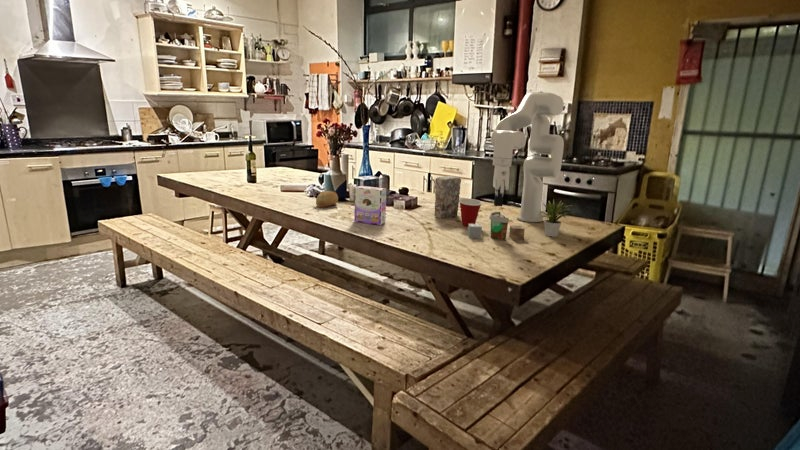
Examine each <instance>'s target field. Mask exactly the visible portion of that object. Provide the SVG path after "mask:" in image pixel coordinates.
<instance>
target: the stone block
mask: <svg viewBox="0 0 800 450" xmlns="http://www.w3.org/2000/svg"><path fill="white" fill-rule="evenodd" d="M434 180H435V181H434V182H435V183H434V188H435V189H434V191H435V192H434V194H435V195H434V197H435V200H434V217H436V218H439V219H442V220H443V219H448V218H452V217H457V216H458V212H459V206H460V202H459V200H460V193H461V183H462V179H461V178H460V177H458V176H454V175H448V176H447V175H446V176H438V177H436V178H435V179H434Z"/></svg>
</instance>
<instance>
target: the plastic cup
mask: <svg viewBox="0 0 800 450" xmlns="http://www.w3.org/2000/svg"><path fill="white" fill-rule="evenodd" d="M482 205H483V202H482V201H481V200H479V199H475V198H469V197H468V198H459V206H460V218H461V224H462V226H463V227H464V228H468V224H477V219H478V215H479V211H480V208H481V206H482Z"/></svg>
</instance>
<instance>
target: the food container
mask: <svg viewBox="0 0 800 450" xmlns="http://www.w3.org/2000/svg"><path fill="white" fill-rule="evenodd" d="M489 220H490V238H491V239H493V240H497V241H506V239H507V234H508V233H507V232H508V226H509V223H510V222H509V221H510V219H509V217H505V215H502V214H501V211H493V212H491V213H490V215H489Z"/></svg>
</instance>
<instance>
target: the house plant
mask: <svg viewBox="0 0 800 450" xmlns="http://www.w3.org/2000/svg"><path fill="white" fill-rule="evenodd" d="M564 203H565V202H562V199H561V200H560V201H559V202H558V204H556V203H555V198H553V200H552V203H551V201H550V199H549V200H548V204H545V203H544V202H542V205H543V206H544V208H545V209H546V210H547V211H546V212H545V211H542V210H540V212H542V213H544V214H546V213H547V214H548V215H547V214H546V215H547V216H548V217H546V218H547V219H545V220H544V234H545V236H546V235H547V237H550V236H552V237H551V238H553V237H554V238H556V237H558V234H559V232H560V227H561V224H562V222H561V221H560V220H559V219H561V218H562V217H563V218H565V219H567V214H568V212H565V213H562V212H563V211H569V210H571V209H570V208H569V207H571V206H573V204H571V205H565V206H563V204H564Z"/></svg>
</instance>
